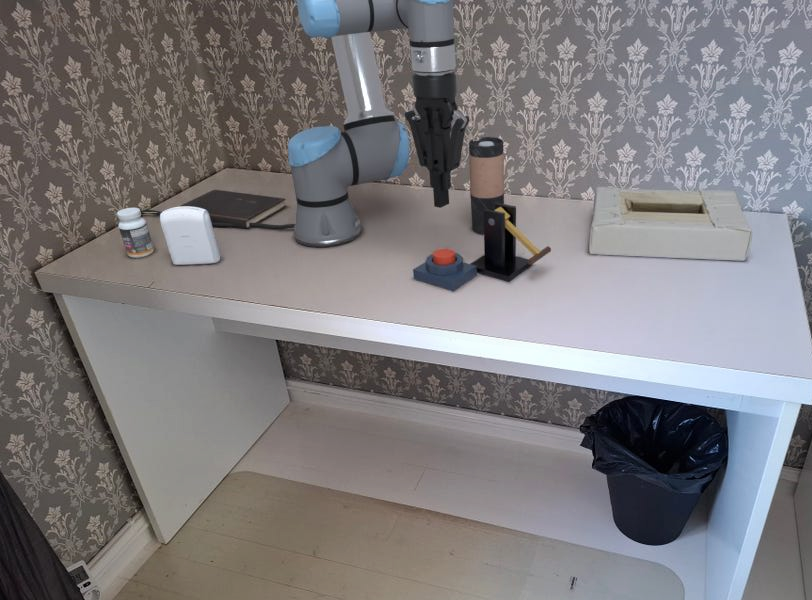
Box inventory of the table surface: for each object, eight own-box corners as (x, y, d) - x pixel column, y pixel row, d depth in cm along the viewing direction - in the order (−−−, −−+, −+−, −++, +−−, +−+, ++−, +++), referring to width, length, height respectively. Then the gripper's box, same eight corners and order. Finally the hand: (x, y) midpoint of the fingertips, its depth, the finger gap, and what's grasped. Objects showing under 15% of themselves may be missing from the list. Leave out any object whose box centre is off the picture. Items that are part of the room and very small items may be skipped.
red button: (428, 262, 135) (428, 254, 134) (442, 254, 137) (441, 246, 136) (446, 267, 132) (446, 259, 131) (459, 259, 135) (459, 251, 134)
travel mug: (501, 235, 154) (500, 146, 143) (468, 234, 155) (465, 146, 144) (506, 223, 160) (506, 136, 149) (474, 221, 161) (472, 136, 150)
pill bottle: (123, 254, 153) (109, 212, 147) (147, 246, 156) (135, 204, 151) (134, 260, 149) (120, 218, 144) (159, 252, 153) (146, 210, 147)
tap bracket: (532, 265, 140) (533, 205, 133) (508, 282, 134) (508, 220, 127) (492, 254, 145) (491, 197, 138) (467, 270, 139) (465, 210, 132)
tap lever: (547, 255, 135) (553, 247, 134) (529, 268, 131) (535, 260, 129) (501, 211, 137) (507, 202, 135) (482, 222, 132) (487, 213, 131)
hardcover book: (216, 197, 182) (214, 189, 181) (286, 207, 174) (285, 198, 173) (173, 218, 170) (170, 210, 169) (247, 230, 162) (245, 220, 161)
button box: (413, 279, 137) (412, 261, 135) (437, 264, 142) (436, 246, 140) (453, 291, 132) (452, 272, 129) (476, 275, 137) (476, 257, 135)
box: (588, 256, 143) (748, 262, 137) (590, 221, 139) (755, 226, 133) (590, 217, 162) (731, 220, 157) (592, 185, 158) (737, 187, 153)
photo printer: (170, 266, 146) (153, 211, 139) (177, 258, 150) (161, 204, 143) (217, 265, 146) (203, 210, 139) (223, 256, 149) (210, 202, 143)
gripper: (390, 72, 116) (402, 205, 129) (451, 78, 110) (457, 217, 122) (418, 65, 121) (427, 193, 134) (477, 70, 115) (481, 205, 127)
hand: (441, 204), depth 128 cm, fingers closed
